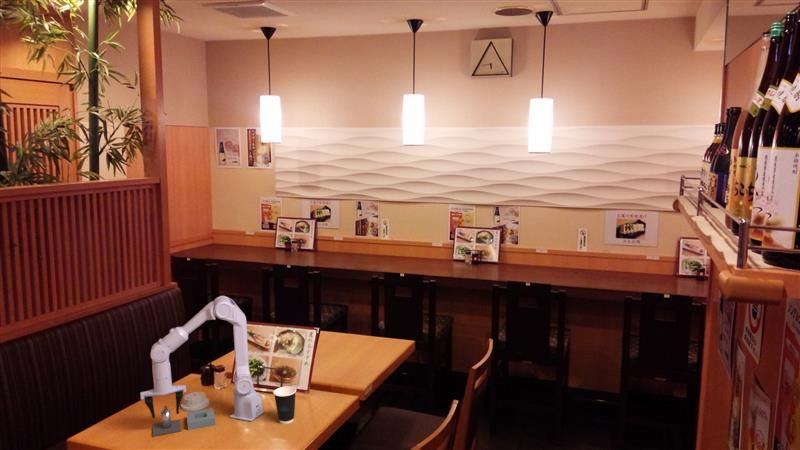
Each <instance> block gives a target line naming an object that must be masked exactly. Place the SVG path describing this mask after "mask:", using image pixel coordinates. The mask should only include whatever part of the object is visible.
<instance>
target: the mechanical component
mask: <svg viewBox="0 0 800 450" xmlns="http://www.w3.org/2000/svg"><path fill="white" fill-rule="evenodd" d="M209 405H210V399H209V398H207V397H206V393H205V392H203V391H194V392H193V391H192V392H190V393H187V394H185V395H183V402H182V403H180V407H181V410H182V411H185V412H194V411H199V410H204V408H205V409H206V407H208V406H209Z"/></svg>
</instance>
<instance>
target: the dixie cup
mask: <svg viewBox="0 0 800 450" xmlns="http://www.w3.org/2000/svg"><path fill="white" fill-rule="evenodd" d="M296 392H297V388H296V387H293V386H281V387H278V388H276V389H274V390H273V392H272V394H273V395H274V400H275V406H276V411H277V413H276V414H277V416H278V420H279V423H280V424H283V425H287V424H291V423H293V422H294V418H295V408H296V407H295V406H296Z"/></svg>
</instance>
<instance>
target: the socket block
mask: <svg viewBox="0 0 800 450" xmlns="http://www.w3.org/2000/svg"><path fill="white" fill-rule="evenodd" d="M214 411H215V410H214V407H211V408H205V409H204V408H203V409H200V410H196V411H187V412H186V420H187V421H186V422H187V429H188V431H190V430H196V429H201V428H205V427H210V426H215V425H216V416H215V413H214Z"/></svg>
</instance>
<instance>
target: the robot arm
mask: <svg viewBox="0 0 800 450" xmlns="http://www.w3.org/2000/svg"><path fill="white" fill-rule="evenodd" d="M217 318H218V319H219V320H223V321H227V322H228V323H229V324H231V325H233V330H232V331H233V343H234V344H233V346H234V359H235V360H234V361H235V364H234V365H235V369H234V370H235V371H234V374H233V377H232V380H233V382H234V389H233V392H232V393H233V403H234V404H233V405H234V413H232V414H230V415H229V418H231V419H237V420H241V421H247V422H253V421H254V420H255V419H256V418H258V417H259V416H261V415H262V414H263V413H265V411H264V410H263V409H264V408H263V397H262V395H261V393H259V392H257V391H256V390H255V388H254V383H253V380H252V375H251V372H250V363H249V347H248V345H249V344H248V329H247V328H248V327H247V325H248V324H247V316H246V315H245V313H244V312H243V310H241V309H240V307H239V306H238V305H237V304H236V302H235V301H234V300H233V299H232V298H230V297H228V296H225V295H219V296H218V297H216V298H215V299H214V300H212V301H210V302H209V303H208V304H206V305H205V306H204V307H203V308H202V309H200V311H199V312H198V313H196V314H195V315H194V316H193V317H192V318H191V319H190V320H188V321H187V323H185V324H184V325H183V326H177V327H172V328H171V329H169V333H168V334H166V335H165V336H163V338H159V339H158V341H157V342H155V343H154V344H153V345H152V346H151V349H150V358H151V364H152V365H151V367H152V369H151V370H152V377H153V378H152V380H153V388H152V389H149V390H146V391H141V392H140V393H139V394H140V400H141V401H142V400H144V404H145V405H146V407H147V408H148V409H149V412H150V414H151V417H152V419H155V418H156V413H155V407H154V398H155V397H161V396H165V395H172V394H174V395H175V411H176V412H175V413H176V415H178V414H179V413H180V412H179V410H180V407H181V404H182V403H181V401H182V399H183V398H184V393H186V392H187V386H186V385H187V384H183V385H173V382H172V371H171V363H170V354H171V353H173V352H175V351H176V350H177V349H179V347H180V346H182V345H183V344H184V343H185V342H187V341H188V340H189V334H191V333H193V331H194V330H196V329H197V328H198V327H200V326H201V325H203V324H204V323H205V322H206V321H211V320H212V321H213V320H214V321H215V320H216V319H217Z"/></svg>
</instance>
